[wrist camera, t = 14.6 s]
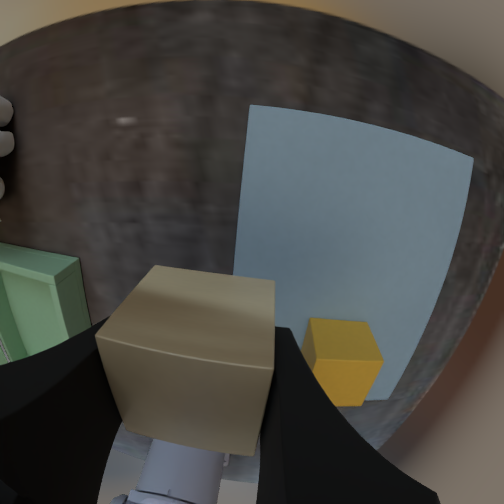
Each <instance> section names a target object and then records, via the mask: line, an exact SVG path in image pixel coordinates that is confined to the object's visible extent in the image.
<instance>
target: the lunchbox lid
mask: <svg viewBox="0 0 504 504" xmlns="http://www.w3.org/2000/svg"><path fill="white" fill-rule="evenodd" d="M6 363H8V361H7V359H6V357H5V355H4V353H3V351H2V349H1V346H0V365H2V364H6Z"/></svg>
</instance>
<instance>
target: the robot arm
mask: <svg viewBox="0 0 504 504" xmlns="http://www.w3.org/2000/svg"><path fill="white" fill-rule="evenodd" d="M109 317H110V316H109ZM109 317H107V318H106V319H104V320H102V321H100V322H99V323H97V324H95V325H93V326H92V327H90V328H88V329H86V330H85V331H83V332H81V333H79V334H77V335H75V336H73V337H71V338H69V339H67V340H66V341H64V342H62V343H60V344H58V345H56V346H53V347H51V348H49V349H47V350H44V351H42V352H39V353H37V354H34V355H32V356H29V357H26V358H23V359H19V360H16V361H13V362H9V363H6V364H2V365H0V504H97V500H98V495H99V490H100V486H101V482H102V478H103V474H104V470H105V467H106V463H107V460H108V456H109V453H110V450H111V447H112V445H113V442H114V439H115V436H116V433H117V431H118V429H119V427H120V424H121V423H122V421H123V420H122V418H121V415H120V413H119V410H118V408H117V405H116V402H115V400H114V397H113V394H112V391H111V388H110V385H109V382H108V379H107V376H106V373H105V370H104V367H103V363H102V360H101V357H100V353H99V350H98V346H97V342H96V338H95V334H96V333H97V332H98V331H99V329H100V328H101V327H102V326H103V325H104V323H105V322H106V321H107V320H108V319H109ZM260 453H261V455H260V472H259V482H258V492H257V501H256V504H440V501H439V498H438V496H437V493H436V492H434V491H432V490H431V489H429V488H427V487H426V486H424V485H422V484H421V483H419V482H417V481H416V480H414V479H412V478H411V477H409V476H408V475H406V474H405V473H403V472H402V471H401V470H399V469H398V468H397V467H395V466H394V465H393V464H391V463H390V462H389V461H388V460H386V459H385V458H384V457H383V456H381V454H380V453H378V452H377V451H376V450H375V449H374V448H373V447H372V446H371V445H370V444H369V443H368V442H367V441H365V440H364V439H363V438H362V437H361V436H360V435H359V434H358V432H357V431H356V430H355V429H354V428H353V427H352V426H351V425H350V424H349V423H348V421H347V420H346V419H345V418H344V417H343V415H342V414H341V413H340V412H339V411H338V409H337V408H336V407H335V405H334V404H333V403H332V401H331V400H330V399H329V397H328V396H327V394H326V393H325V391H324V390H323V388H322V387H321V385H320V384H319V382H318V381H317V379H316V378H315V376H314V374H313V372H312V371H311V369H310V367H309V365H308V364H307V362H306V360H305V358H304V356H303V354H302V352H301V350H300V348H299V346H298V344H297V342H296V340H295V338H294V335H293V333H292V331H291V329H290V328H288V327H278V326H275V354H274V372H273V377H272V382H271V386H270V391H269V395H268V400H267V404H266V409H265V413H264V417H263V422H262V426H261V430H260ZM229 455H230V454H229V453H222V452H215V451H209V450H203V449H198V448H193V447H188V446H183V445H179V444H174V443H170V442H166V441H162V440H158V439H153V442H152V445H151V447H150V450H149V453H148V456H147V458H146V461H145V464H144V467H143V470H142V472H141V475H140V478H139V481H138V484H137V486H136V489H135V490H133V489H131V490H130V493H129V496H127V495H125V494H122V495H120V496H117V497H115V498H113V500H112V501H111V502H110V504H217V498H218V493H219V487H220V480H221V475H222V469H223V466H228V463H229Z"/></svg>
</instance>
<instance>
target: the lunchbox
mask: <svg viewBox="0 0 504 504" xmlns="http://www.w3.org/2000/svg"><path fill="white" fill-rule="evenodd" d="M90 327H92V326H91V322H90V317H89V313H88V308H87V303H86V298H85V292H84V287H83V281H82V274H81V268H80V260H79V258H77V257H71V256H66V255H60V254H55V253H50V252H45V251H40V250H35V249H30V248H25V247H20V246H15V245H11V244H6V243H1V242H0V340H1V342H2V344H3V346H4V349H5V351H6V353H7V356H8V358H9V360H10V362H13V361H16V360H19V359H23V358H26V357H29V356H32V355H34V354H37V353H39V352H42V351H44V350H47V349H49V348H51V347H53V346H56V345H58V344H60V343H62V342H64V341H66V340H67V339H69V338H71V337H73V336H75V335H77V334H79V333H81V332H83V331H85V330H86V329H88V328H90Z"/></svg>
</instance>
